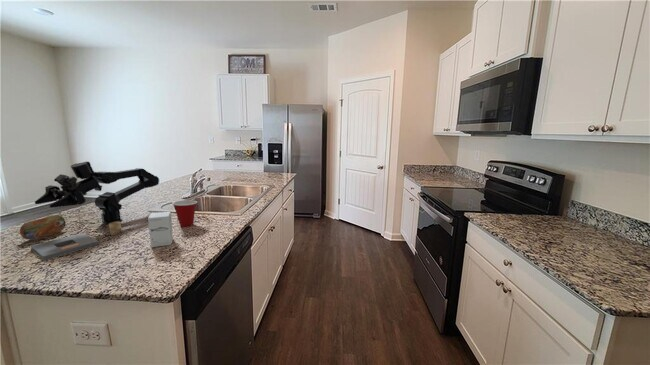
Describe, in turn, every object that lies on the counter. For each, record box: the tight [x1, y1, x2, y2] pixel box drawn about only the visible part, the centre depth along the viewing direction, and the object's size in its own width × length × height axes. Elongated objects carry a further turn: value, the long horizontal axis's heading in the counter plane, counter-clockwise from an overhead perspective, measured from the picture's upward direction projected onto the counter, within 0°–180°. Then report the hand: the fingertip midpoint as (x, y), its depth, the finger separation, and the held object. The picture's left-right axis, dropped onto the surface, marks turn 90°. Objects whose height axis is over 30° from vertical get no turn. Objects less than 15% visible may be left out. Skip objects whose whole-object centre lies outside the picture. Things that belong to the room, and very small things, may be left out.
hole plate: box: [30, 232, 100, 261], centre depth 106 cm, size 16×16×2 cm
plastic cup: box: [172, 200, 198, 228], centre depth 131 cm, size 11×11×12 cm
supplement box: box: [147, 211, 174, 248], centre depth 110 cm, size 7×7×13 cm
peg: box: [108, 221, 122, 236], centre depth 120 cm, size 4×4×5 cm
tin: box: [19, 214, 67, 241], centre depth 116 cm, size 15×3×8 cm, turn 168°
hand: (42, 204), depth 109 cm, fingers open, 9 cm apart
